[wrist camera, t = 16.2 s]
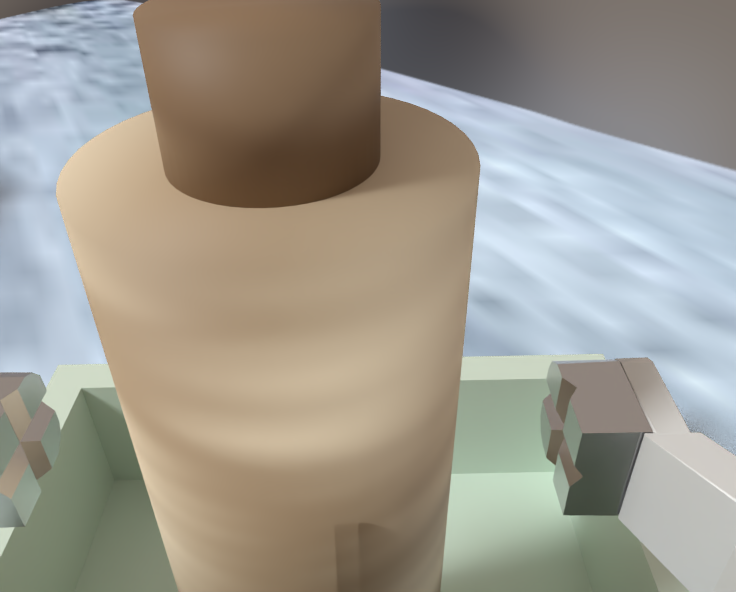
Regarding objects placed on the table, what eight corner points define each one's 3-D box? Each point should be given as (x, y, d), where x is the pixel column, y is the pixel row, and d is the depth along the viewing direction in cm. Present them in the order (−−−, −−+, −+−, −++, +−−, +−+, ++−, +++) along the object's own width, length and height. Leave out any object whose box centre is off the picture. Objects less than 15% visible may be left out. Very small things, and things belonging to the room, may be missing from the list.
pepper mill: (419, 619, 18) (463, -41, 9) (436, 836, 14) (543, 80, 5) (242, 622, 18) (97, -36, 9) (212, 839, 14) (-103, 88, 5)
